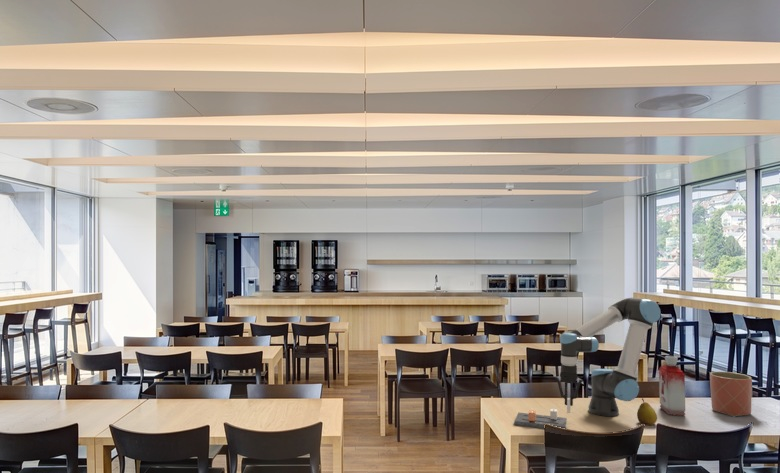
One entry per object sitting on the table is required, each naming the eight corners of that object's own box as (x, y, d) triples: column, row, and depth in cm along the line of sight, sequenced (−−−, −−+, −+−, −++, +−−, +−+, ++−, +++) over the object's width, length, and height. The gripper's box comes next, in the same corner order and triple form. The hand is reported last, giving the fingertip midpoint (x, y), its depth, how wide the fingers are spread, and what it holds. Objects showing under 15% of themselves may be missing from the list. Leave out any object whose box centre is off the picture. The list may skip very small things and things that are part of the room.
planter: (727, 406, 286) (726, 370, 287) (761, 416, 268) (760, 378, 269) (702, 408, 281) (701, 372, 282) (735, 419, 263) (734, 380, 263)
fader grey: (557, 417, 256) (557, 409, 256) (556, 419, 252) (556, 411, 253) (550, 416, 257) (550, 408, 257) (550, 418, 254) (550, 410, 254)
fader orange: (535, 419, 253) (535, 410, 253) (534, 421, 250) (534, 413, 250) (529, 418, 254) (529, 410, 255) (528, 420, 251) (528, 412, 251)
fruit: (659, 427, 249) (658, 402, 250) (639, 425, 252) (638, 401, 252) (655, 421, 258) (654, 398, 258) (635, 420, 260) (635, 396, 261)
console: (566, 421, 256) (566, 417, 256) (565, 431, 242) (565, 426, 242) (518, 416, 265) (518, 412, 265) (514, 424, 251) (514, 420, 251)
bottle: (687, 416, 266) (686, 359, 268) (666, 415, 268) (665, 358, 270) (677, 408, 280) (676, 354, 282) (657, 407, 282) (656, 353, 284)
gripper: (582, 364, 255) (582, 411, 253) (555, 361, 259) (555, 408, 258) (582, 367, 248) (582, 415, 246) (554, 364, 252) (554, 412, 251)
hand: (568, 411), depth 252 cm, fingers closed
